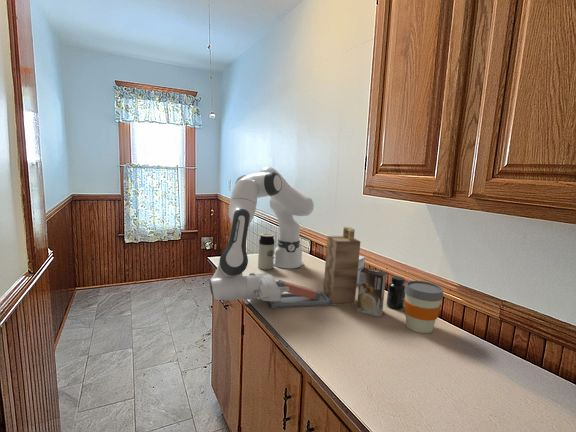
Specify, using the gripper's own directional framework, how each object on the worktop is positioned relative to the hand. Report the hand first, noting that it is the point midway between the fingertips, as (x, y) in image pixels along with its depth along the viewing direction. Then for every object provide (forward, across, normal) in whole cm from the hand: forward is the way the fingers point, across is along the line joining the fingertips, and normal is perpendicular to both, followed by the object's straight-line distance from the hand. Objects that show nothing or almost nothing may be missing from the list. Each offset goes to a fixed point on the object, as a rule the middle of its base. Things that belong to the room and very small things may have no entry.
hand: (287, 286), depth 130 cm
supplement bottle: (+43, -9, +7) cm, 45 cm away
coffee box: (+30, -12, +7) cm, 33 cm away
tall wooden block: (+22, 0, +6) cm, 23 cm away
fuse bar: (+4, 0, +3) cm, 5 cm away
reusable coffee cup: (+42, -26, +7) cm, 50 cm away
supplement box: (+38, +20, +6) cm, 44 cm away
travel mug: (-1, +44, +7) cm, 45 cm away
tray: (+5, 0, +6) cm, 8 cm away
